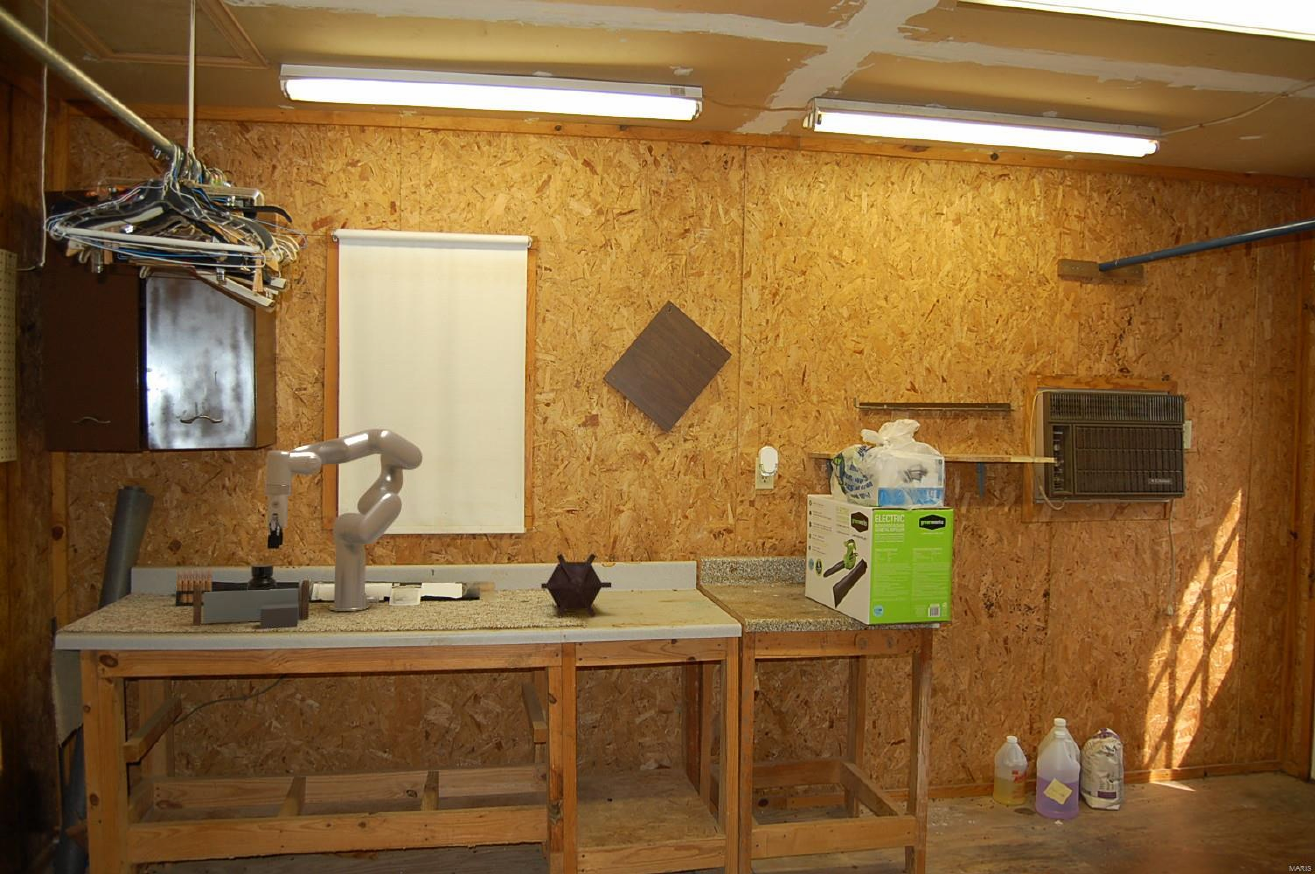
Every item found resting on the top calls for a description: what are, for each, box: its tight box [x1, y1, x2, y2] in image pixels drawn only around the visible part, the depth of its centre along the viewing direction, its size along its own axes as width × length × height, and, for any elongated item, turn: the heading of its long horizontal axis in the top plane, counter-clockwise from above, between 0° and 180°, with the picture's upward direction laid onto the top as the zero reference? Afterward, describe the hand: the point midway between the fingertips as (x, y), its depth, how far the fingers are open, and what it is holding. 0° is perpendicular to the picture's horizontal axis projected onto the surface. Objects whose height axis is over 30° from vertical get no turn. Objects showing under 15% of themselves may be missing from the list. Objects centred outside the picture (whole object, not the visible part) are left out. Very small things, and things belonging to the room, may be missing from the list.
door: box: [202, 587, 299, 624], centre depth 255 cm, size 26×2×9 cm, turn 111°
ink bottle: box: [247, 563, 277, 588], centre depth 288 cm, size 10×9×12 cm
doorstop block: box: [259, 602, 299, 630], centre depth 251 cm, size 10×6×6 cm, turn 111°
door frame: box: [192, 579, 310, 627], centre depth 256 cm, size 32×2×12 cm, turn 111°
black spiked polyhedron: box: [540, 553, 612, 618], centre depth 279 cm, size 22×23×30 cm
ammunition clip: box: [174, 568, 213, 607], centre depth 277 cm, size 11×2×12 cm, turn 105°
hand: (275, 546), depth 256 cm, fingers open, 9 cm apart
